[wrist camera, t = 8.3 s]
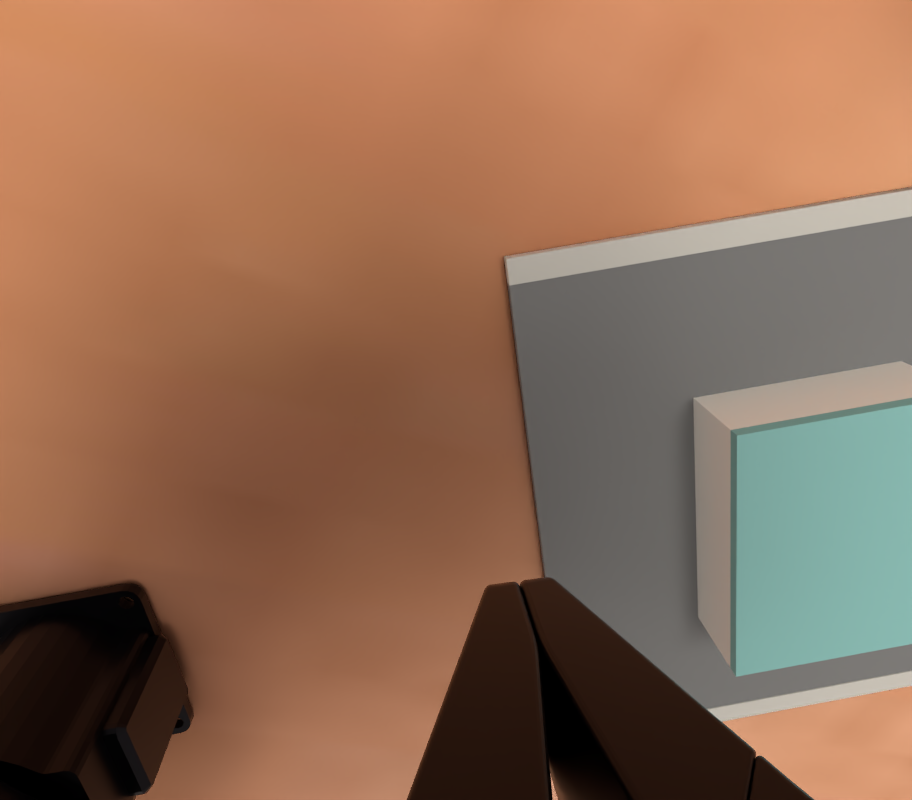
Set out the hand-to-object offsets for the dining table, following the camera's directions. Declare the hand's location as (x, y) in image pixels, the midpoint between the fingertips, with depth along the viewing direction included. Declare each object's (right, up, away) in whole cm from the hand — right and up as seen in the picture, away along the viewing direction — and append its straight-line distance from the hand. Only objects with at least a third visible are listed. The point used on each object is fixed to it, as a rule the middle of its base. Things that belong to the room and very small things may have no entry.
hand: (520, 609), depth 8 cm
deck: (+8, -2, +14) cm, 16 cm away
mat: (+11, -1, +15) cm, 19 cm away
